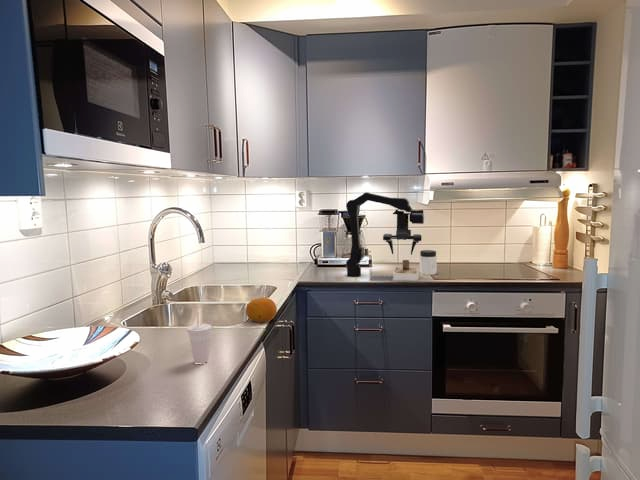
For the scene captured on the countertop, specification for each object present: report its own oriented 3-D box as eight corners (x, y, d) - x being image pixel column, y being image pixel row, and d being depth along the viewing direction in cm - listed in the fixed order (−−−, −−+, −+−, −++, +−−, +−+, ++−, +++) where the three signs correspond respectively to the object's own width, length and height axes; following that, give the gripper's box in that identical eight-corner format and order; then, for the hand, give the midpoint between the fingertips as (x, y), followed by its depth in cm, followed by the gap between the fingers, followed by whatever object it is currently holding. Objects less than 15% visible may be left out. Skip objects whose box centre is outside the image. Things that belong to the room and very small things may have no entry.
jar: (427, 275, 235) (428, 252, 234) (416, 273, 242) (416, 251, 241) (439, 273, 240) (439, 251, 239) (428, 271, 247) (428, 249, 245)
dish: (393, 281, 222) (393, 273, 222) (394, 276, 234) (394, 268, 234) (418, 282, 220) (418, 273, 219) (418, 277, 231) (418, 269, 231)
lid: (394, 273, 222) (394, 262, 222) (395, 269, 233) (395, 258, 232) (416, 273, 220) (416, 262, 220) (416, 269, 230) (416, 259, 230)
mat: (369, 280, 224) (369, 280, 224) (371, 276, 235) (371, 275, 235) (392, 281, 222) (392, 280, 222) (393, 277, 233) (393, 276, 233)
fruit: (265, 314, 167) (265, 293, 166) (282, 320, 159) (281, 298, 158) (240, 320, 161) (240, 298, 160) (256, 327, 152) (255, 303, 152)
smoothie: (183, 364, 120) (181, 313, 119) (198, 356, 126) (196, 307, 125) (204, 367, 118) (201, 315, 116) (218, 359, 124) (215, 309, 122)
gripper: (382, 224, 220) (381, 256, 222) (421, 225, 216) (420, 257, 218) (384, 222, 231) (383, 253, 233) (421, 223, 227) (421, 254, 228)
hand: (402, 254), depth 227 cm, fingers open, 9 cm apart
